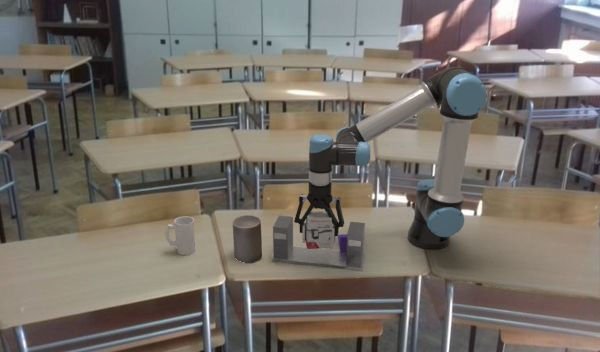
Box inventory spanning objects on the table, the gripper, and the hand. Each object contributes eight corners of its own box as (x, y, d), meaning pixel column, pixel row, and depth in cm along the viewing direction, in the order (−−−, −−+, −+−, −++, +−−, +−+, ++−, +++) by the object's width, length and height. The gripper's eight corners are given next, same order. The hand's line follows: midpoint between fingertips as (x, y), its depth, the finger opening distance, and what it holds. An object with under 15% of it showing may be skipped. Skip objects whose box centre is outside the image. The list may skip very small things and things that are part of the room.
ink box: (306, 249, 193) (307, 217, 189) (305, 242, 198) (306, 211, 194) (332, 248, 194) (333, 217, 190) (330, 241, 199) (331, 210, 194)
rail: (364, 256, 200) (366, 222, 195) (362, 271, 191) (364, 235, 186) (278, 248, 205) (277, 214, 200) (271, 261, 196) (271, 227, 191)
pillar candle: (260, 248, 205) (259, 210, 199) (263, 262, 196) (262, 222, 190) (233, 251, 203) (231, 213, 198) (235, 265, 194) (232, 225, 189)
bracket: (359, 254, 202) (360, 237, 199) (340, 254, 202) (340, 237, 199) (356, 238, 213) (357, 221, 211) (338, 238, 213) (338, 221, 211)
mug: (195, 245, 207) (193, 215, 202) (196, 254, 201) (194, 223, 196) (167, 248, 205) (164, 217, 201) (167, 257, 199) (164, 226, 194)
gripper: (354, 180, 189) (352, 240, 197) (289, 175, 193) (289, 234, 201) (352, 188, 182) (349, 251, 190) (284, 183, 186) (284, 244, 194)
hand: (318, 242), depth 196 cm, fingers closed on ink box, 9 cm apart
